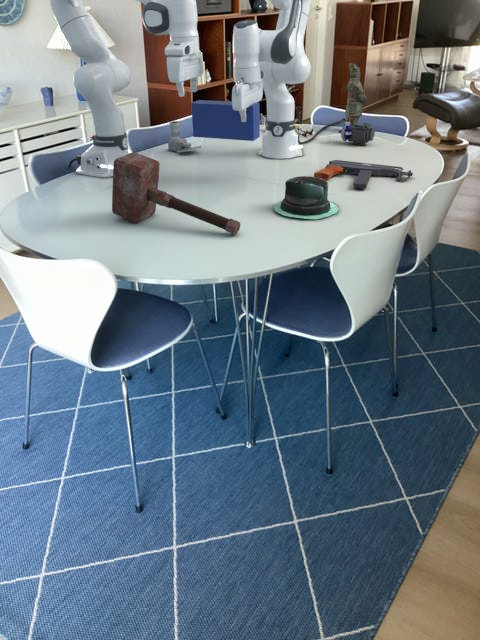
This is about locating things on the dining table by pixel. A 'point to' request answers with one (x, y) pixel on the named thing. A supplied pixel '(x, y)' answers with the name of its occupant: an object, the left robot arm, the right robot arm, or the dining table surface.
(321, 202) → the green fedora hat
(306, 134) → the figurine
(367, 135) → the toy
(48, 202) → the dining table surface
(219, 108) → the box
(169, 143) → the grey boot
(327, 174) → the submachine gun
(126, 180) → the sledgehammer
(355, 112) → the statue
